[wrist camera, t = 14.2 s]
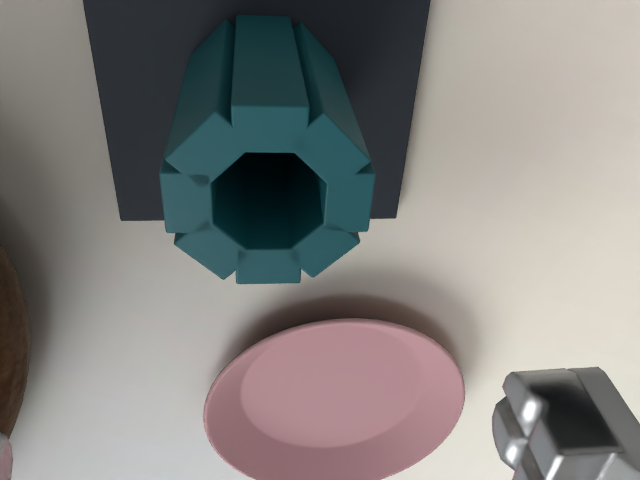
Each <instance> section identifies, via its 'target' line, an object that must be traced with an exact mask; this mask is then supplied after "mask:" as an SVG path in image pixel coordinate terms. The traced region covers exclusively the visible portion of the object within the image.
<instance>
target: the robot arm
mask: <svg viewBox="0 0 640 480" xmlns="http://www.w3.org/2000/svg"><path fill="white" fill-rule="evenodd" d="M502 388H503V390H504V392H505V394H506V397H504V398H503V399H502V400H501V401H499V402H498V403H497V404H496V406H495V409H494V413H493V416H492V432H493V437H494V441H495V446H496V448H497V451H498V453H499V456H500V458H501V460H502V461H503V462H505V463H506V464H507V465H508V466H509V467H511V468H512V469H513V470H514V471H515V472H514V476H513V479H512V480H640V424H639V422H638V421H637V419H636V418H635V416H634V415H633V413H632V412H631V410H630V409H629V407H628V406H627V404H626V403H625V401H624V400H623V398H622V397H621V395H620V394H619V392H618V391H617V389H616V388H615V386H614V385H613V383H612V382H611V380H610V379H609V377H608V376H607V374H606V373H605V372H604V371H603V370H601V369H600V368H599V367H588V368H572V369H565V368H561V369H548V370H534V371H520V372H511V373H510V374H509V375H507V376H506V378H505V381H504V383H503V386H502ZM12 463H13V456H12V449H11V444H10V442H9V440H8V437H7V436H6V435H5V434H3V433H1V432H0V480H11V472H12Z"/></svg>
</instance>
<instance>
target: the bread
mask: <svg viewBox="0 0 640 480" xmlns="http://www.w3.org/2000/svg"><path fill="white" fill-rule="evenodd" d="M30 346H31V329H30V323H29V317H28V311H27V305H26V300H25V297H24V294H23V291H22V289H21V286H20V283H19V280H18V277H17V274H16V271H15V268H14V267H13V265H12V263H11V262H10V260H9V258H8V256H7V255H6V253H5V251H4V249H3V248H2V246H1V244H0V432H1V433H3V434H5V435H6V436H7V437H8V440H9V438H10V435H11V433H12V430H13V428H14V425H15V422H16V419H17V416H18V413H19V410H20V408H21V405H22V401H23V396H24V392H25V387H26V382H27V376H28V369H29V362H30Z"/></svg>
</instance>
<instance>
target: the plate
mask: <svg viewBox="0 0 640 480" xmlns="http://www.w3.org/2000/svg"><path fill="white" fill-rule="evenodd" d="M464 400H465V385H464V380H463V376H462V373H461V371H460V368H459V366H458V365H457V363H456V361H455V360H454V358H453V357H452V356H451V355H450V353H449V352H448V351H447V350H446V349H445V348H444V347H442V346H441V345H440V344H439V343H437V342H436V341H435V340H433V339H432V338H430V337H428V336H427V335H425V334H423V333H421V332H419V331H417V330H414V329H412V328H409V327H406V326H403V325H400V324H396V323H392V322H387V321H381V320H374V319H362V318H343V319H330V320H323V321H317V322H311V323H307V324H303V325H299V326H295V327H292V328H289V329H286V330H283V331H281V332H278V333H276V334H273V335H271V336H269V337H267V338H265V339H263V340H261V341H259V342H257V343H255V344H254V345H252V346H251V347H249V348H248V349H246V350H245V351H243V352H242V353H241V354H239V355H238V356H237V357H235V358H234V359H233V360H232V361H231V362H230V363H229V364H228V365H227V366H226V367H225V368H224V369H223V370H222V371H221V373H220V374H219V375H218V377H217V378H216V380H215V381H214V383H213V384H212V386H211V388H210V390H209V393H208V395H207V398H206V402H205V406H204V427H205V431H206V434H207V437H208V439H209V441H210V443H211V445H212V447H213V448H214V450H215V451H216V452H217V453H218V455H219V456H220V457H221V458H222V459H223V460H224V461H225V462H227V463H228V464H229V465H230V466H232V467H233V468H234V469H236V470H238V471H239V472H241V473H243V474H245V475H247V476H249V477H251V478H253V479H256V480H381V479H384V478H386V477H389V476H392V475H394V474H396V473H398V472H401V471H403V470H405V469H407V468H409V467H410V466H412V465H414V464H416V463H417V462H419V461H420V460H422V459H423V458H425V457H426V456H427V455H429V454H430V453H431V452H432V451H434V450H435V449H436V448H437V447H438V446H439V445H440V444H441V443H442V442H443V441H444V440H445V439H446V438H447V437H448V435H449V434H450V433H451V431H452V430H453V428H454V427H455V425H456V423H457V422H458V420H459V417H460V415H461V412H462V409H463V405H464Z"/></svg>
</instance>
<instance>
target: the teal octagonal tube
mask: <svg viewBox="0 0 640 480" xmlns="http://www.w3.org/2000/svg"><path fill="white" fill-rule="evenodd" d="M159 176H160V185H161V193H162V202H163V211H164V220H165V229H166V232H167V233H175V239H174V244H175V245H176V246H177V247H178V248H180V249H181V250H182V251H184V252H185V253H187V254H188V255H189V256H191V257H192V258H194V259H195V260H196V261H198V262H199V263H201V264H202V265H203V266H205V267H206V268H207V269H209V270H210V271H212V272H213V273H214V274H216V275H217V276H219V277H220V278H221V279H223V280H224V279H226V278H227V277H228V276H229V275H230V274H232V273H233V272H234V271H235V270H236V283H237V284H275V283H300V281H301V269H302V270H303V271H304V272H306V273H307V274H308V275H309V276H311V277H315V276H316V275H318V274H319V273H320V272H322V271H323V270H324V269H326V268H327V267H328V266H330V265H331V264H332V263H334V262H335V261H336V260H338V259H339V258H340V257H342V256H343V255H344V254H346V253H347V252H348V251H350V250H351V249H352V248H354V247H355V246H356V245H357V244H359V243H360V238H359V235H358V232H367V231H368V228H369V221H370V213H371V206H372V198H373V191H374V183H375V176H376V174H375V171H374V168H373V165H372V163H371V159H370V156H369V153H368V150H367V148H366V145H365V142H364V139H363V137H362V134H361V131H360V128H359V126H358V123H357V120H356V117H355V115H354V112H353V109H352V106H351V104H350V101H349V98H348V95H347V92H346V90H345V87H344V84H343V81H342V79H341V76H340V73H339V70H338V68H337V65H336V62H335V59H334V58H333V57H332V56H331V55H330V53H329V52H328V51H327V50H326V49H325V48H324V47H323V46H322V44H321V43H320V42H319V41H318V40H317V39H316V38H315V37H314V36H313V34H312V33H311V32H310V31H309V30H308V29H307V28H306V27H305V26H304V24H303V23H302V22H299V23H298V24H297V25H296V26H295V27H294V28H293V27H292V23H291V18H290V17H286V16H259V15H237V16H236V28H235V27H234V26H233V25H232V24H231V23H230V22H229V21H228V20H224V21H223V22H222V23H221V24H220V25H219V26H218V27H217V28H216V29H215V30H214V31H213V32H212V33H211V34H210V35H209V36H208V37H207V38H206V39H205V41H204V42H203V43H202V44H201V45H200V46H199V47H198V48H197V49H196V50H195V51H194V52H193V53H192V54H191V55H190V59H189V63H188V66H186V69H185V73H184V77H183V81H182V85H181V89H180V93H179V97H178V101H177V105H176V109H175V113H174V117H173V121H172V125H171V129H170V133H169V137H168V141H167V145H166V148H165V152H164V156H163V160H162V164H161V168H160V172H159Z"/></svg>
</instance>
